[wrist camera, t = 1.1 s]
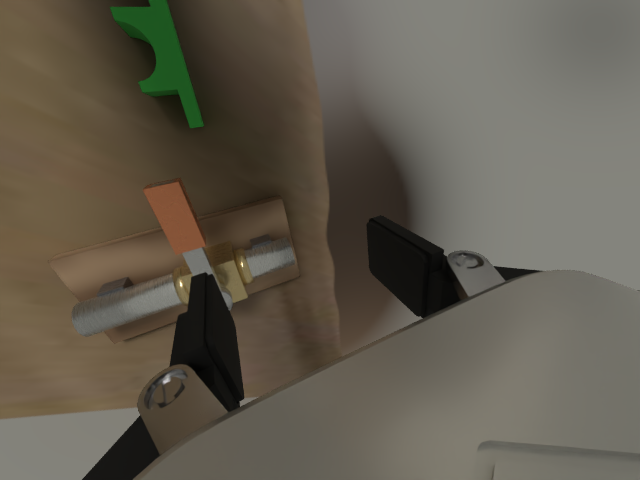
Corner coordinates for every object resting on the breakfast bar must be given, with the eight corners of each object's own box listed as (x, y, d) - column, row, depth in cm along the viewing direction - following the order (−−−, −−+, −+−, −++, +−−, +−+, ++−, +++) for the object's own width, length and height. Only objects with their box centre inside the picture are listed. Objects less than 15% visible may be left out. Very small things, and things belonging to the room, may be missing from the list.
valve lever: (234, 295, 27) (236, 311, 25) (207, 304, 27) (207, 322, 24) (184, 174, 21) (181, 181, 19) (148, 182, 20) (139, 190, 18)
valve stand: (55, 255, 26) (47, 262, 24) (279, 195, 32) (282, 198, 31) (117, 335, 31) (114, 344, 30) (297, 271, 38) (300, 276, 36)
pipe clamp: (109, -21, 20) (85, -55, 16) (161, -19, 21) (150, -51, 17) (165, 131, 25) (157, 132, 21) (204, 126, 26) (203, 126, 22)
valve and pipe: (80, 285, 26) (55, 317, 22) (280, 225, 32) (291, 241, 28) (108, 320, 29) (90, 355, 25) (289, 259, 35) (300, 278, 30)
